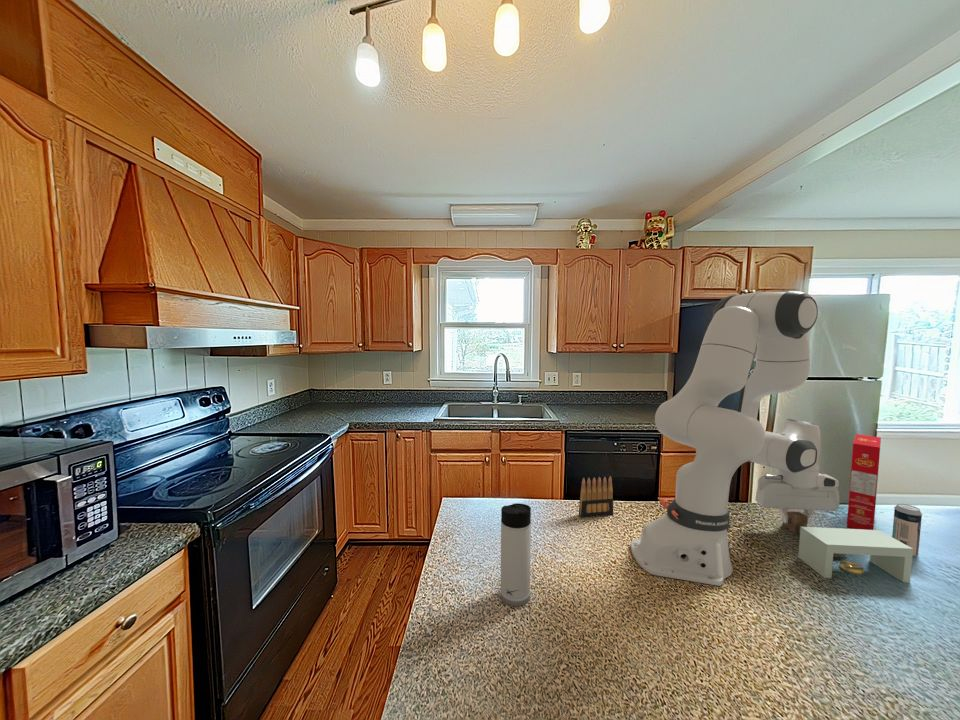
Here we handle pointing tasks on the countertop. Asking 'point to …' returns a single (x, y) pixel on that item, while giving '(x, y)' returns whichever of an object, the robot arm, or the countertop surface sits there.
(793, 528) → the scraper
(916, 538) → the beer can
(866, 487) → the food packaging
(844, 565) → the brass disc
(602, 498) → the ammunition clip
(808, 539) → the pale green bridge
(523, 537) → the travel mug
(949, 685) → the countertop surface
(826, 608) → the countertop surface
